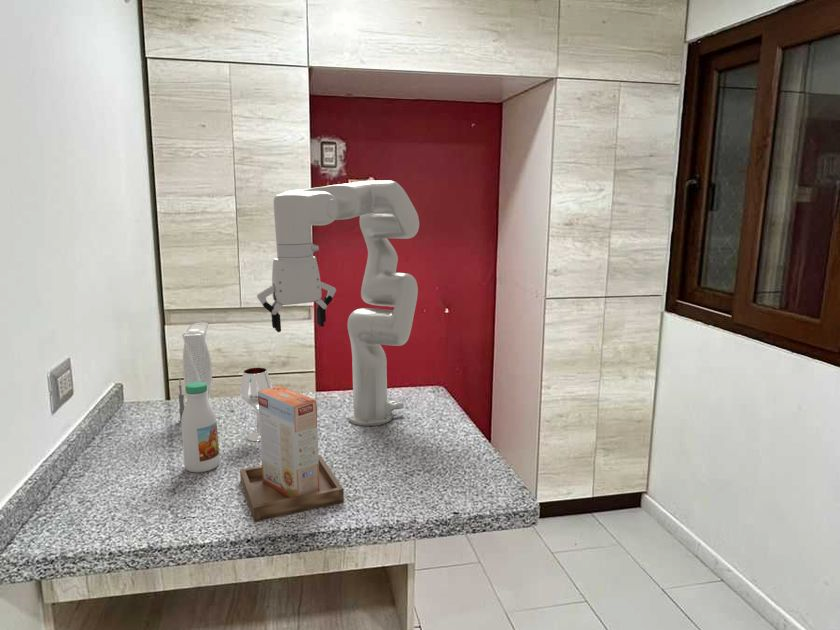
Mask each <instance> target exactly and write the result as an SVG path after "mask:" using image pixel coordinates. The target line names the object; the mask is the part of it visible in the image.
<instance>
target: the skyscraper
mask: <svg viewBox="0 0 840 630" xmlns="http://www.w3.org/2000/svg"><path fill="white" fill-rule="evenodd" d="M197 325H205V328H204V330H200V329H199V328H192V327H194V326H197ZM208 326H209V323H208V322H206V321H202V322H201V321H199V322H194V323H192V324H191V325H189V327H188V328H187V330H186V332H184V333H183V334H182V336H181V337H182V340H183V342H184V343H183V352H182V377H183V383H184V387H185V386H186V385H187V384H189V383H193V382H205V383H206V384H207V393H206V395H207V399H208V401H209V402H210V395H211V391H212V382H213V381H212V380H213V369H212V368H213V367H212V366H213V365H212V360H211V355H210V351H209V349H208V345H207V342H206V340H205V339H206V335H207V331H208ZM191 328H192V329H191ZM181 379H182V378H179V379H178V381H179V384H178V388H179V393H178V403H179V409H178V410H179V419H180V420H178V422H179V423H181V419H182V414H183V411H184V408H185V406H186V403H185V393H184V392H183V384H182V382H181V381H182V380H181Z"/></svg>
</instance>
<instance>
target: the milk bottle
mask: <svg viewBox="0 0 840 630" xmlns="http://www.w3.org/2000/svg"><path fill="white" fill-rule="evenodd" d="M184 387H185V395H186V403H185V408H184V411H183V414H182V419H181V422H180V424H181V437H182V438H181V440H182V441H181V442H182V452H183V463H184V468H185V470H186V471H187V472H190V473H204V472H209V471H213V470H214V469H216V468H217V467H218V466H219V465H220V461H221V460H220V459H221V458H220V447H219V434H218V433H219V432H218V425H217V424H218V423H217V416H216V412H215V410H214V408H213V407H212V404H211V403H210V400H209V401H208V399H207V395H206V393H207V384H206V383H205V382H193V383H189V384H187V385H186V386H185V385H184Z"/></svg>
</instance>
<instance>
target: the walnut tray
mask: <svg viewBox="0 0 840 630" xmlns="http://www.w3.org/2000/svg"><path fill="white" fill-rule="evenodd" d="M318 458H319V489H320V491H319V492H315V493H310V494H305V495H300V496H296V497H291V498H289V497H287V496H285V495H284V494H282V493H281V492H279V491H278V490H276V489H274V488H273V487H271V486H270V485H268V484H267V483H265V482H263V478H262V465H256V466H252V467H251V466H250V467H247V468H242V469H241V468H240V469H239V473H240V474H239V475H240V483H241V486H242V490H243V492H244V495H245V498H246V501H247V505H248V508H249V510H250V514H251V516H252V519H253V520H252V521H253V522H254V523H257V522H261V521H267V520H269V519H275V518H279V517H280V518H281V517H283V516H287V515H292V514H293V515H294V514H297V513H302V512H307V511H311V510H315V509H320V508H325V507H329V506H333V505H337V504H342V503H345V500H344V498H345V497H344V496H345V494H344V488H343V486H342V485H341V483H340V481H339V480H338V479H337V477H336V476H335V474H334V473H333V471H332V470H331V468H330V466H329V465H328V464H327V462H326V461H325V459H324V458H323V456H322V455H321V454H318Z"/></svg>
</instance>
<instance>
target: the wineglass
mask: <svg viewBox="0 0 840 630" xmlns="http://www.w3.org/2000/svg"><path fill="white" fill-rule="evenodd" d="M267 369H268V368H265V367H250V368H247V369H245V370H243V372H242V377H241V381H240V388H239V395H240V399H242V401H243V402H244V403H245V404H247V405H249V406H250V407H251V408H252V409H254V411H255V416H256V431H254V432H251V433H250V432H249V433H248V434H247V435H246V436H245V438H246V440H247V441H250V442H261V440H260V422H259V404H258V391H260V390H264V389H268V388H272V387H273V386H272V385H273V384H272V381H271V378H270V376H269V373H268V370H267Z"/></svg>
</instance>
